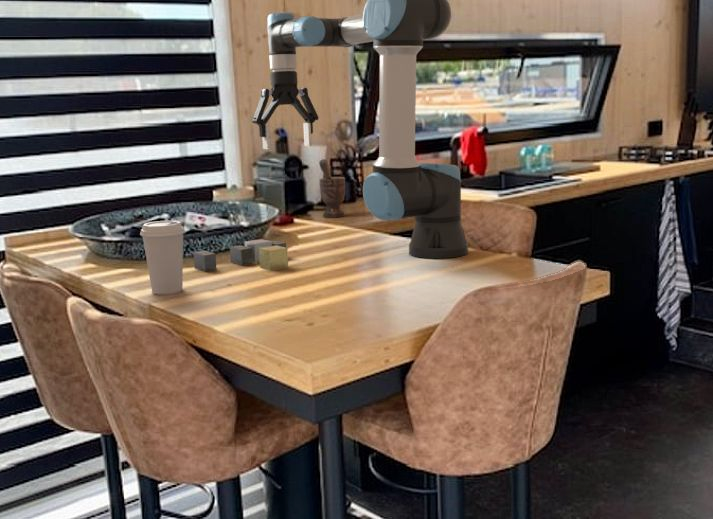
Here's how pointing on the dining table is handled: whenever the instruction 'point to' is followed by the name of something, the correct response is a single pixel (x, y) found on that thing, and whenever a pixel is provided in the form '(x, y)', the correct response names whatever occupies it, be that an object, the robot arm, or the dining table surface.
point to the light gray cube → (257, 248)
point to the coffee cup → (164, 255)
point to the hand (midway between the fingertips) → (287, 147)
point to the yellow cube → (273, 258)
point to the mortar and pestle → (331, 191)
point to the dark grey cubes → (237, 255)
